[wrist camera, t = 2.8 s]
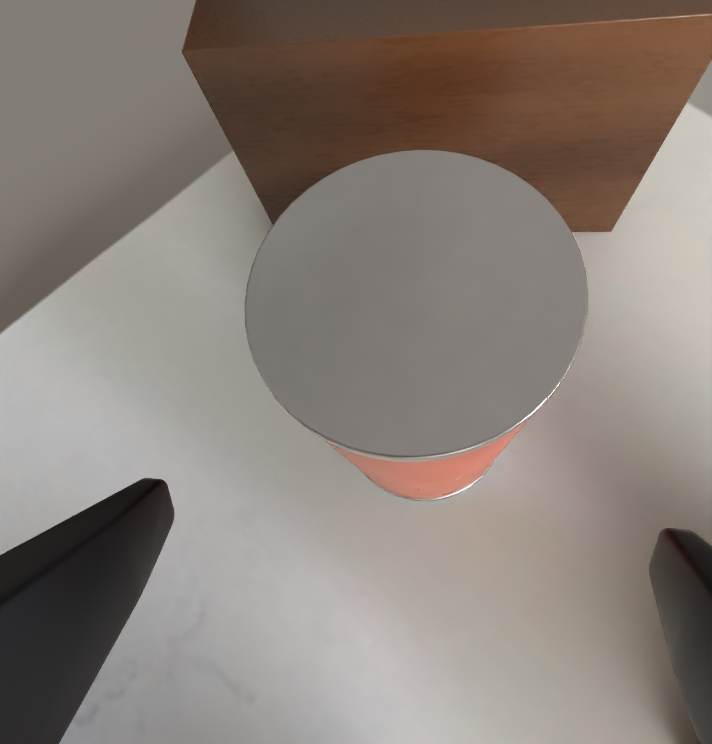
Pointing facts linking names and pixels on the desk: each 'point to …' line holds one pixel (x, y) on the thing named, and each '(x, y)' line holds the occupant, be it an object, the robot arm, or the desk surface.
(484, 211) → the can
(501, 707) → the desk surface
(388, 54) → the wooden board
